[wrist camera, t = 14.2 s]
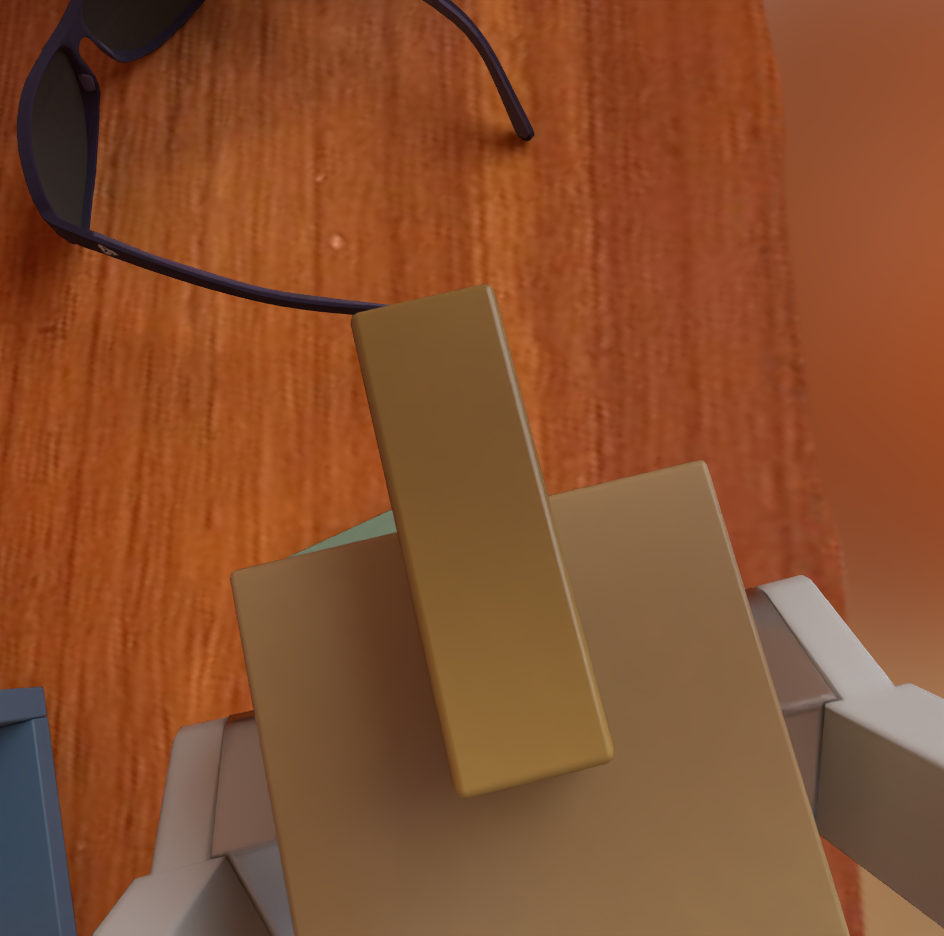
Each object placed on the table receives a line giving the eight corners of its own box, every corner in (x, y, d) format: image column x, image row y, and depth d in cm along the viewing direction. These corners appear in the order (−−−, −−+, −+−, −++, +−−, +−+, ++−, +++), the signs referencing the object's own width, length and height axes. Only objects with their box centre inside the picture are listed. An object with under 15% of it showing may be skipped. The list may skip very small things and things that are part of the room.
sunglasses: (181, -40, 34) (133, -156, 29) (558, 74, 33) (572, -26, 28) (34, 259, 32) (-46, 187, 27) (439, 394, 30) (432, 345, 26)
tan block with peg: (661, 828, 12) (953, 1111, 5) (417, 890, 12) (315, 1286, 5) (565, 470, 14) (677, 235, 6) (340, 524, 13) (155, 355, 6)
